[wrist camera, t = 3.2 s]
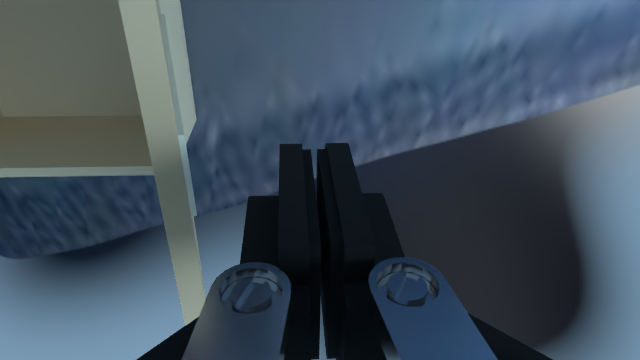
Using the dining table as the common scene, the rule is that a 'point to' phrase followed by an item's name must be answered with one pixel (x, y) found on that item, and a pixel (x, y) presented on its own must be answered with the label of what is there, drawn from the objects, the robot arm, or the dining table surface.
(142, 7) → the lid
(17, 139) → the carton
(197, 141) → the dining table surface
